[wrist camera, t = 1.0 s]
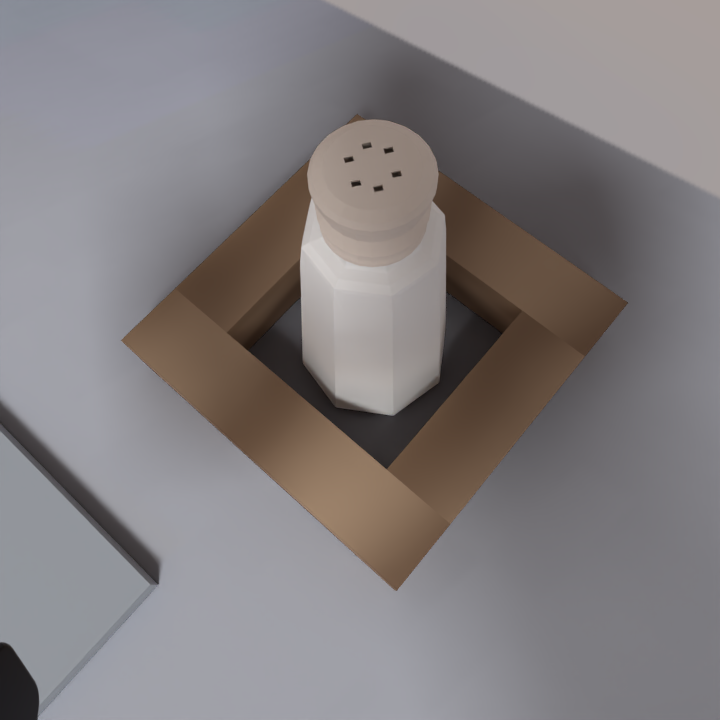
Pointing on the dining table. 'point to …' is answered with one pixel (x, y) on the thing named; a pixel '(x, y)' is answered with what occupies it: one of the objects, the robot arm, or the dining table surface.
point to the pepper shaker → (373, 268)
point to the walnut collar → (319, 435)
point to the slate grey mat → (57, 574)
